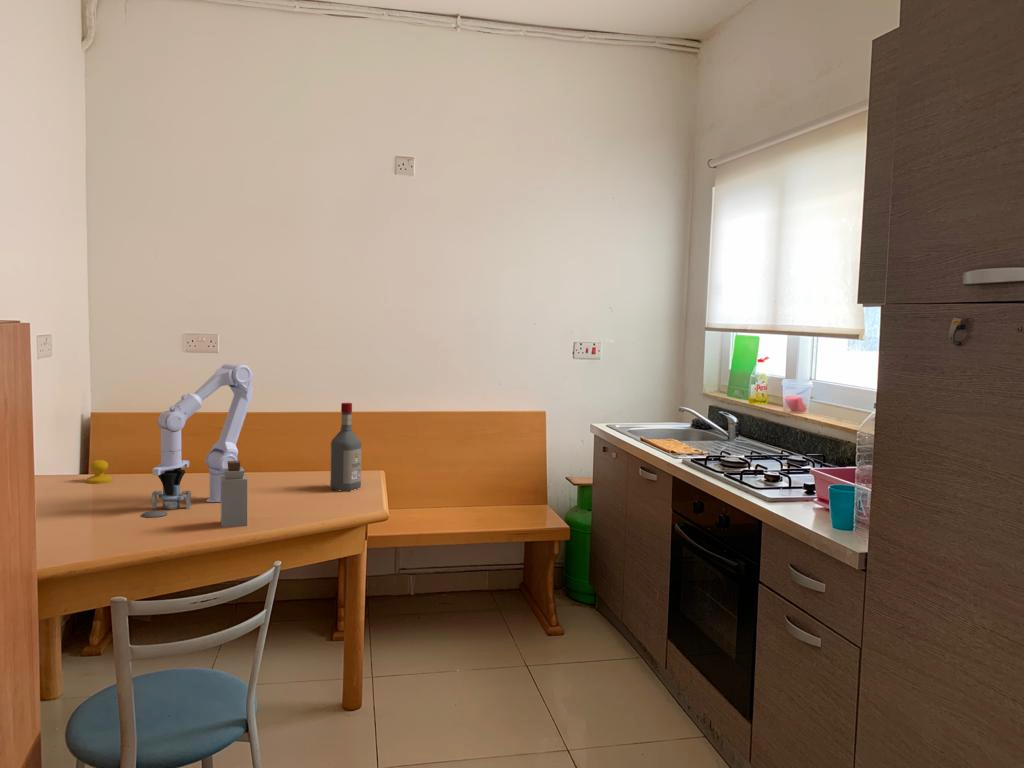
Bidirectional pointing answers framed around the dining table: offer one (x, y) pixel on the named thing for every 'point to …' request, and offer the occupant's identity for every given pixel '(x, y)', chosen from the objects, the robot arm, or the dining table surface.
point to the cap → (175, 495)
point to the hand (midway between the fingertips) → (171, 494)
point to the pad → (154, 514)
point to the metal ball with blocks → (171, 501)
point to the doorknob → (99, 472)
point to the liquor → (345, 455)
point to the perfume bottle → (233, 496)
